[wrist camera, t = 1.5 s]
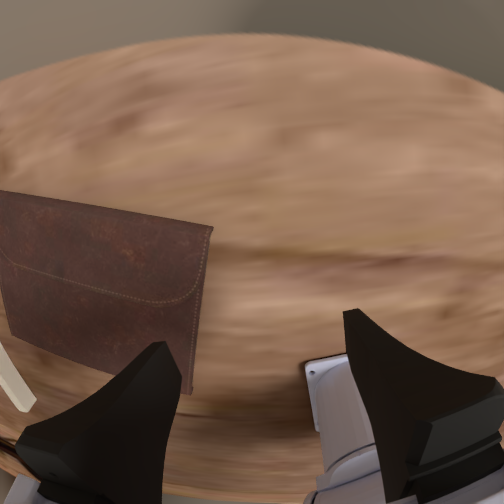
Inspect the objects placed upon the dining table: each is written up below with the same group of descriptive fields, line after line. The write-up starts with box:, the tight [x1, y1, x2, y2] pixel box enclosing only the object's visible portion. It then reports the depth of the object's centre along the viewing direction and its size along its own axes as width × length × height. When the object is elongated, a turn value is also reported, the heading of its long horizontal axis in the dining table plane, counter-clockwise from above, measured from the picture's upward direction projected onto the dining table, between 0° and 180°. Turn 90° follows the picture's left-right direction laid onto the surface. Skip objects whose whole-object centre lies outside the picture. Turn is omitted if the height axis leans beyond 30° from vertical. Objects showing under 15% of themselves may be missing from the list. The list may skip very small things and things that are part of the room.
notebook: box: [0, 190, 214, 395], centre depth 22 cm, size 15×20×2 cm
